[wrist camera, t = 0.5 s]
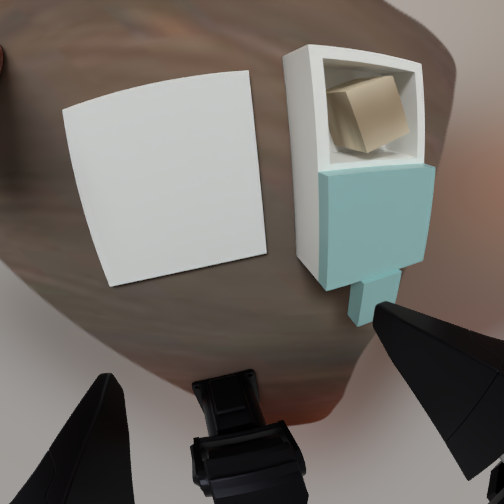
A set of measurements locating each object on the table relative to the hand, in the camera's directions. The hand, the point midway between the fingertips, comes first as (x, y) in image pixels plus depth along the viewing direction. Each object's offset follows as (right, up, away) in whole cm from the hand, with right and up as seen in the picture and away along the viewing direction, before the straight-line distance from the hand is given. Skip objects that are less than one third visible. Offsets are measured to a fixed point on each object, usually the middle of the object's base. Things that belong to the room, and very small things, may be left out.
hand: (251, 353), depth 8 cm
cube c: (+7, +13, +10) cm, 18 cm away
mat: (-5, +8, +9) cm, 13 cm away
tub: (+7, +10, +11) cm, 17 cm away
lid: (+9, +4, +11) cm, 14 cm away
